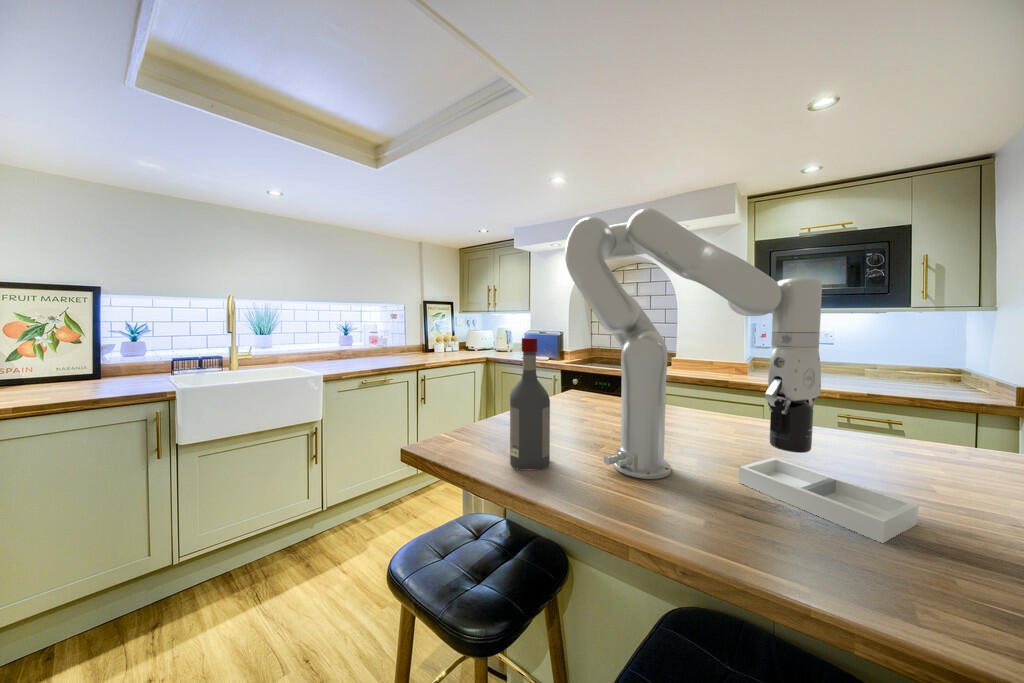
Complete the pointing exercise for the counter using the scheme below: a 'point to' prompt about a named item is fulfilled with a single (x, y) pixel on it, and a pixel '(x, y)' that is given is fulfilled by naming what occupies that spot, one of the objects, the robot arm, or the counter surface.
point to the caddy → (831, 498)
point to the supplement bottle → (796, 429)
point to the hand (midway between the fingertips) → (790, 429)
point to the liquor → (529, 415)
